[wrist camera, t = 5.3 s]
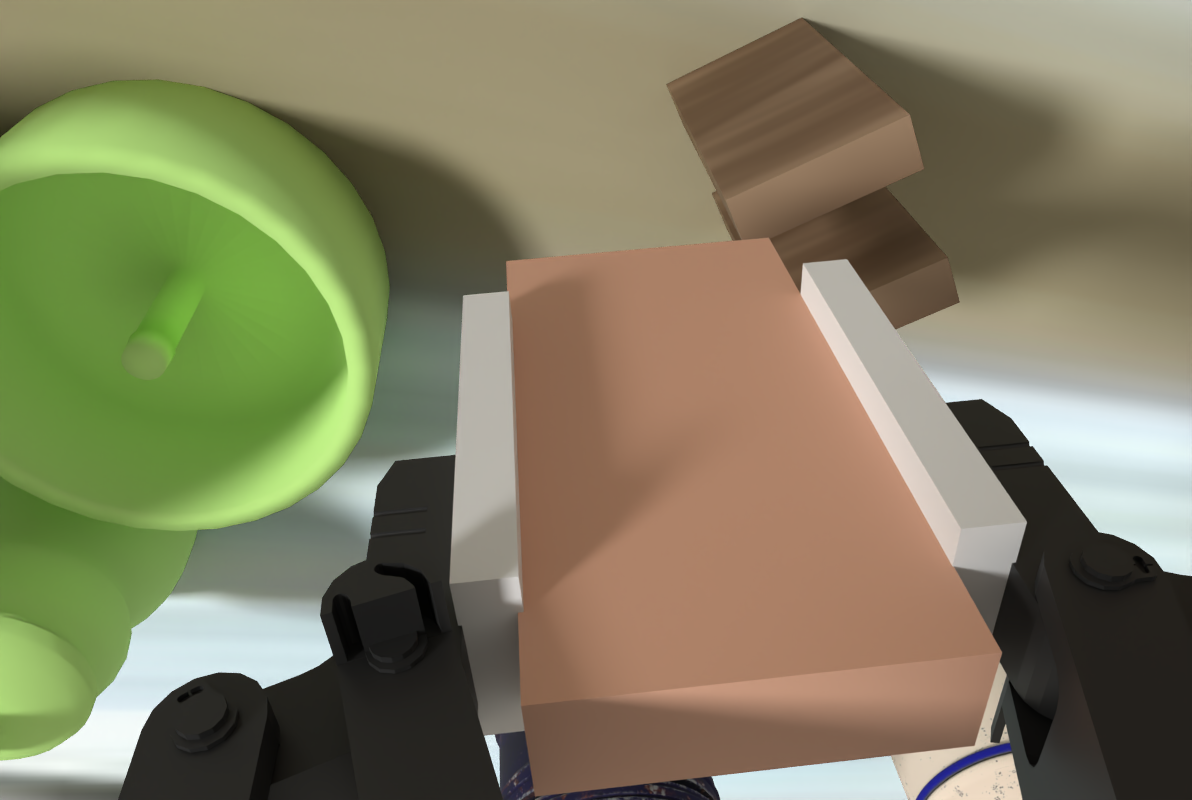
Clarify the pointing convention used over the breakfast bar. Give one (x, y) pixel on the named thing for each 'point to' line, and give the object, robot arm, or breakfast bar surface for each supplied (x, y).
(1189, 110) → the breakfast bar surface
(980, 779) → the teacup with lid
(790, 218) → the domino
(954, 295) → the domino
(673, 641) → the domino
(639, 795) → the storage jar
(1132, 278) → the breakfast bar surface
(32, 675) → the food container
